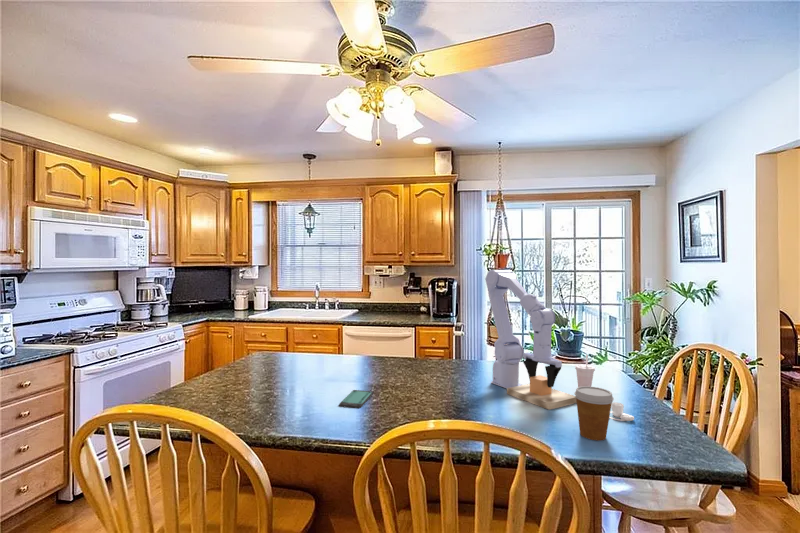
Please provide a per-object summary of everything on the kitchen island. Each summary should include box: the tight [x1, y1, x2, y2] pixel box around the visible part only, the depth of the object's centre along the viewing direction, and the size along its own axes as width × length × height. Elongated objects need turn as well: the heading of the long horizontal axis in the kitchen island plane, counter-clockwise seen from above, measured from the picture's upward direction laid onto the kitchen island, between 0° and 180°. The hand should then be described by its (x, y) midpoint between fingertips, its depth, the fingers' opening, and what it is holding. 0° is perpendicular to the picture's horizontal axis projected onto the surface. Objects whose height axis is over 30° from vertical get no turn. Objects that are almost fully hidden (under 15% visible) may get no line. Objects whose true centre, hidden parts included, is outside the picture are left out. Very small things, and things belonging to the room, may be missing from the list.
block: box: [529, 374, 553, 396], centre depth 140 cm, size 5×5×5 cm
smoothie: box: [574, 354, 596, 388], centre depth 146 cm, size 6×6×14 cm
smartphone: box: [339, 389, 374, 409], centre depth 135 cm, size 7×1×15 cm
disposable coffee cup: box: [573, 386, 615, 441], centre depth 110 cm, size 10×10×12 cm
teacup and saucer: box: [609, 401, 635, 422], centre depth 125 cm, size 9×8×4 cm
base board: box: [506, 383, 577, 410], centre depth 141 cm, size 18×14×2 cm
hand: (541, 383), depth 141 cm, fingers open, 7 cm apart
